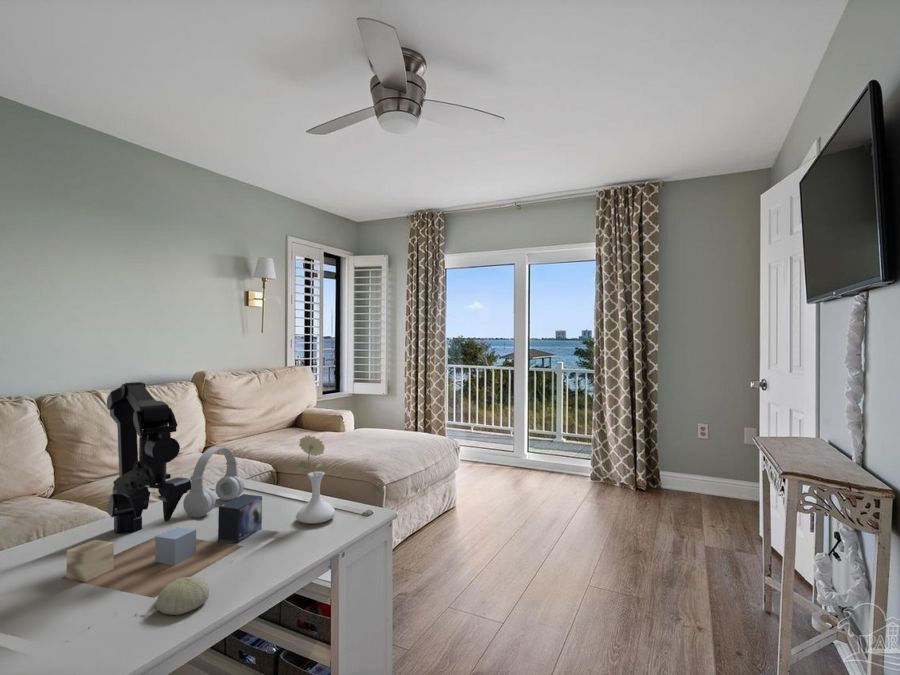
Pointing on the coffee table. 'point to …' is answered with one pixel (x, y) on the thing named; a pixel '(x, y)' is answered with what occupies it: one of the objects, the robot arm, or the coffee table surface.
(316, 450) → the flower in vase
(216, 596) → the coffee table surface
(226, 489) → the headphones
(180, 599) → the sea urchin shell
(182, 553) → the slate cube
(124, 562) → the walnut board
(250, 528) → the small box
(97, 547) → the birch cube
